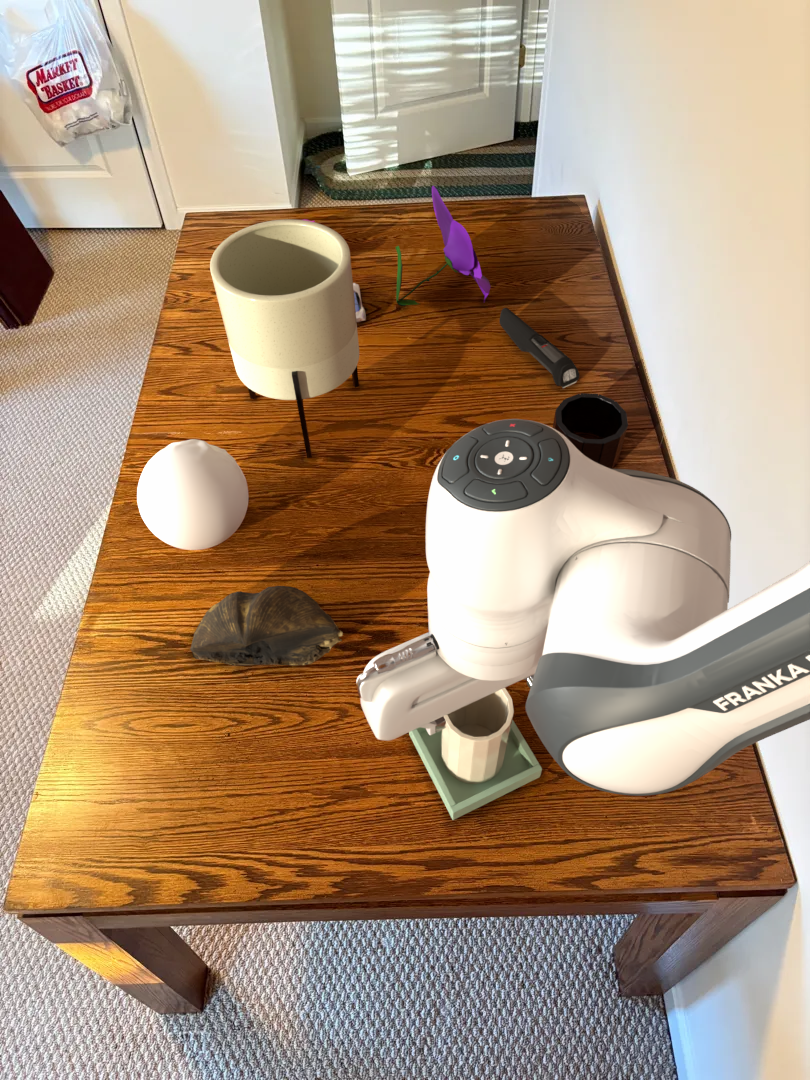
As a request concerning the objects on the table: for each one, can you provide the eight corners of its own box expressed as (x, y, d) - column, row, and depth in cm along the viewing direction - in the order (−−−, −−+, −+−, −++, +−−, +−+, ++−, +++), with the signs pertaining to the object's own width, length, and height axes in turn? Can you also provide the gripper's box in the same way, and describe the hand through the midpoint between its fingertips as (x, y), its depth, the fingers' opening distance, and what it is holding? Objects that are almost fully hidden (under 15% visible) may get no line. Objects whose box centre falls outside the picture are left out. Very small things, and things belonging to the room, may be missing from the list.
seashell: (184, 679, 80) (168, 631, 76) (203, 616, 87) (189, 569, 83) (344, 677, 80) (338, 629, 75) (350, 614, 87) (345, 566, 82)
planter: (391, 416, 103) (382, 260, 85) (288, 473, 98) (255, 319, 79) (326, 356, 111) (305, 201, 92) (227, 406, 105) (184, 251, 87)
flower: (436, 359, 117) (511, 302, 115) (389, 295, 105) (472, 230, 103) (399, 304, 126) (468, 250, 123) (351, 239, 114) (427, 177, 111)
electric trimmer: (514, 320, 115) (515, 301, 112) (581, 380, 106) (584, 361, 104) (492, 329, 114) (493, 310, 111) (558, 390, 105) (561, 372, 103)
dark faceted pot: (631, 463, 97) (642, 428, 92) (573, 486, 95) (580, 452, 90) (593, 420, 102) (601, 385, 97) (537, 441, 100) (542, 406, 95)
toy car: (356, 277, 122) (354, 262, 120) (367, 325, 115) (366, 310, 113) (333, 280, 122) (331, 265, 119) (343, 328, 114) (341, 313, 112)
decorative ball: (273, 502, 95) (255, 431, 85) (230, 581, 88) (206, 514, 79) (183, 481, 97) (157, 410, 88) (135, 557, 91) (100, 488, 81)
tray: (540, 777, 74) (542, 769, 72) (452, 820, 72) (453, 813, 70) (492, 696, 79) (493, 686, 77) (408, 734, 77) (408, 725, 75)
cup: (516, 767, 74) (526, 722, 66) (459, 795, 73) (463, 752, 65) (485, 713, 77) (491, 664, 69) (430, 739, 76) (430, 692, 68)
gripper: (373, 712, 51) (386, 788, 62) (638, 592, 56) (607, 683, 67) (336, 636, 55) (354, 721, 66) (588, 529, 59) (566, 625, 70)
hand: (483, 701), depth 66 cm, fingers open, 8 cm apart
